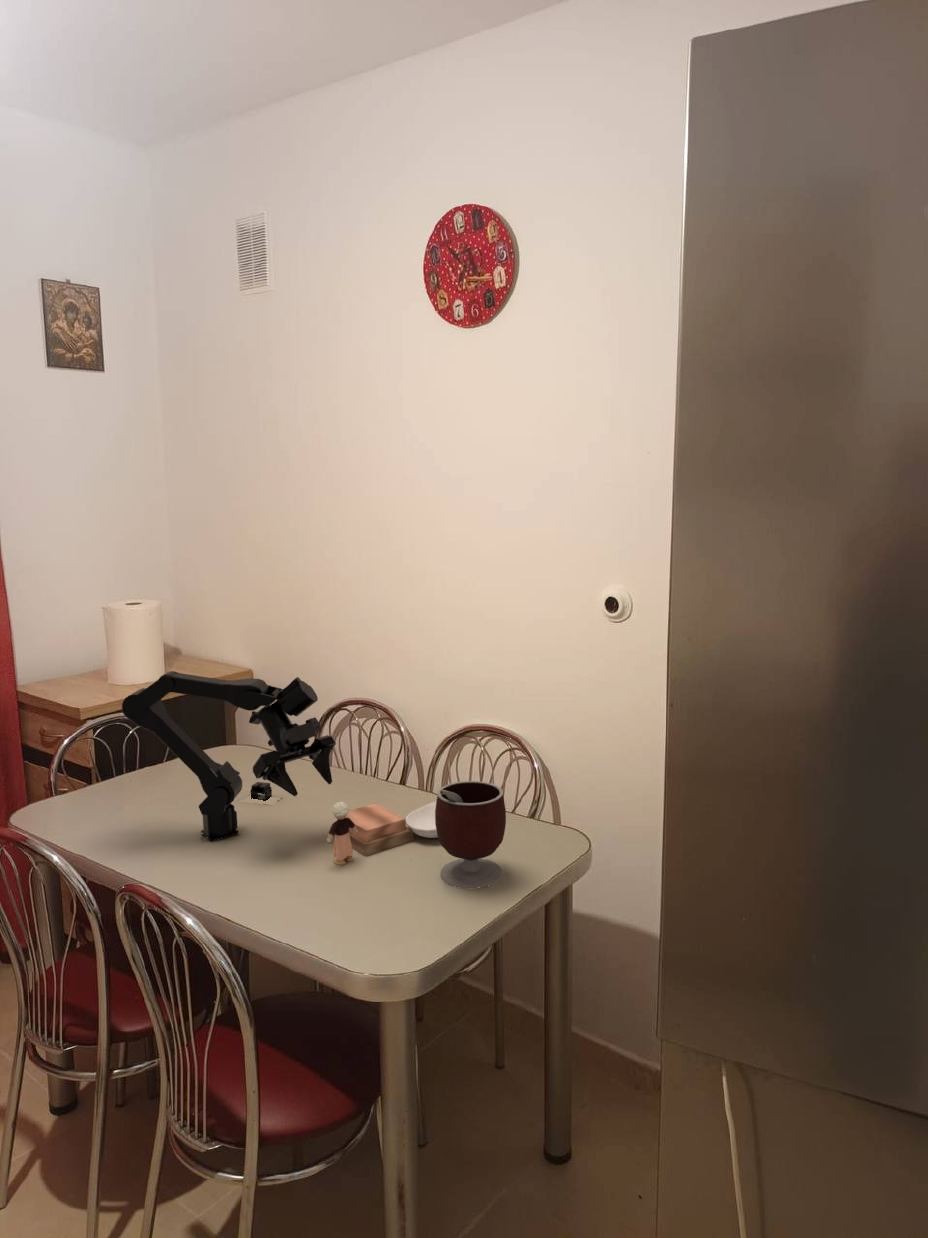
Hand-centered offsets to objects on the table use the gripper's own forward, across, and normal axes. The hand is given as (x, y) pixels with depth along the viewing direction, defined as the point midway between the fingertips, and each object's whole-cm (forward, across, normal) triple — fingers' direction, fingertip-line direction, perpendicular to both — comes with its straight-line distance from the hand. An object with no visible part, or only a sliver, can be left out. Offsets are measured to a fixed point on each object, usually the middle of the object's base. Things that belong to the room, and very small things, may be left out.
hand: (313, 789), depth 181 cm
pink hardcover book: (+13, +12, +6) cm, 18 cm away
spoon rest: (+19, +28, 0) cm, 34 cm away
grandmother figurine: (+16, 0, +4) cm, 16 cm away
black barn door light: (-14, +10, +34) cm, 38 cm away
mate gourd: (+33, +12, -14) cm, 38 cm away
